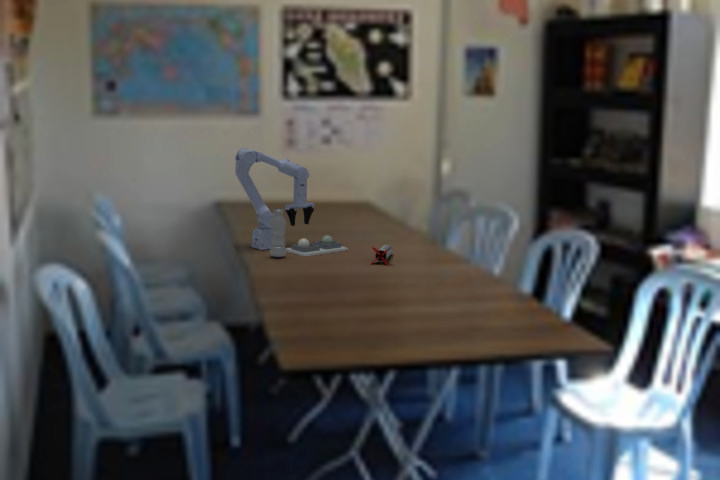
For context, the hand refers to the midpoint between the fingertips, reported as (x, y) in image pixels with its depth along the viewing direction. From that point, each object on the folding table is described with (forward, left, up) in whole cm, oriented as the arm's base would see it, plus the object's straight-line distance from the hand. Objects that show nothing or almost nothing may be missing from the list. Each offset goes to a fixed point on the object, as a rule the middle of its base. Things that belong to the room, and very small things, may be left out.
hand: (299, 224), depth 376 cm
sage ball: (+6, -12, -6) cm, 15 cm away
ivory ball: (-7, -12, -6) cm, 15 cm away
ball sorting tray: (0, -12, -9) cm, 15 cm away
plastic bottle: (-22, -14, -10) cm, 28 cm away
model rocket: (+12, -41, -10) cm, 44 cm away
